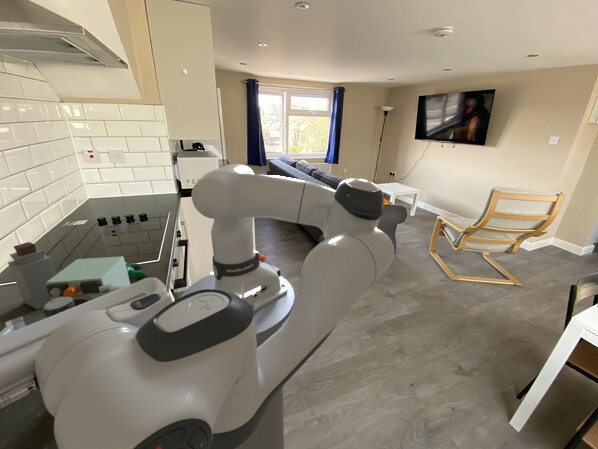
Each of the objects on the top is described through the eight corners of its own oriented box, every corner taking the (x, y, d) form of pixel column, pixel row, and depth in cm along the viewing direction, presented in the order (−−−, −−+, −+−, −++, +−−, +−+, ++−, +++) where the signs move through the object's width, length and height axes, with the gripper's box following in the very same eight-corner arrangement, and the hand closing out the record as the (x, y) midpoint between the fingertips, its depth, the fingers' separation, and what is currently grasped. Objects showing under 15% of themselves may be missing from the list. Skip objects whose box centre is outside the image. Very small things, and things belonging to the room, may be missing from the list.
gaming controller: (133, 273, 96) (117, 266, 92) (140, 264, 97) (124, 257, 93) (140, 283, 90) (123, 277, 86) (147, 273, 91) (130, 267, 87)
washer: (111, 328, 67) (97, 282, 63) (59, 334, 66) (40, 286, 61) (133, 296, 80) (123, 256, 75) (90, 300, 78) (76, 259, 73)
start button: (76, 297, 62) (73, 289, 61) (64, 298, 62) (61, 290, 61) (81, 292, 64) (78, 284, 63) (70, 293, 63) (67, 285, 63)
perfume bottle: (64, 296, 80) (45, 242, 74) (36, 309, 74) (13, 252, 68) (53, 290, 83) (33, 238, 76) (25, 303, 77) (1, 247, 71)
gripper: (-49, 468, 21) (-46, 374, 29) (189, 327, 36) (147, 291, 44) (-89, 413, 19) (-73, 328, 27) (182, 287, 34) (138, 257, 42)
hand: (64, 305), depth 36 cm, fingers open, 8 cm apart
